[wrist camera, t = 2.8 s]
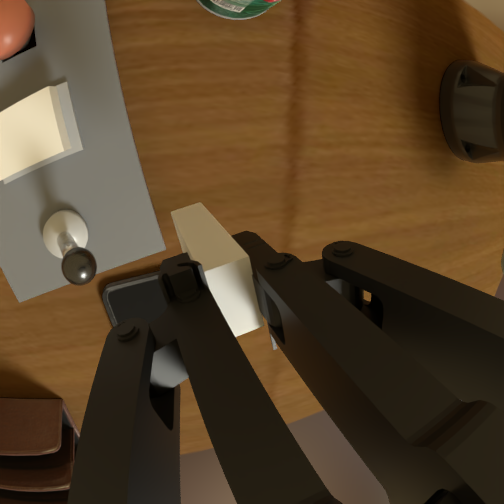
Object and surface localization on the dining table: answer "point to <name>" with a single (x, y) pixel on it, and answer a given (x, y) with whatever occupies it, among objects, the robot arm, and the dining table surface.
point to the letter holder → (36, 451)
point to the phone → (135, 298)
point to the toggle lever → (76, 260)
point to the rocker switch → (31, 131)
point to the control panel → (74, 156)
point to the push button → (15, 26)
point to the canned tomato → (237, 7)
